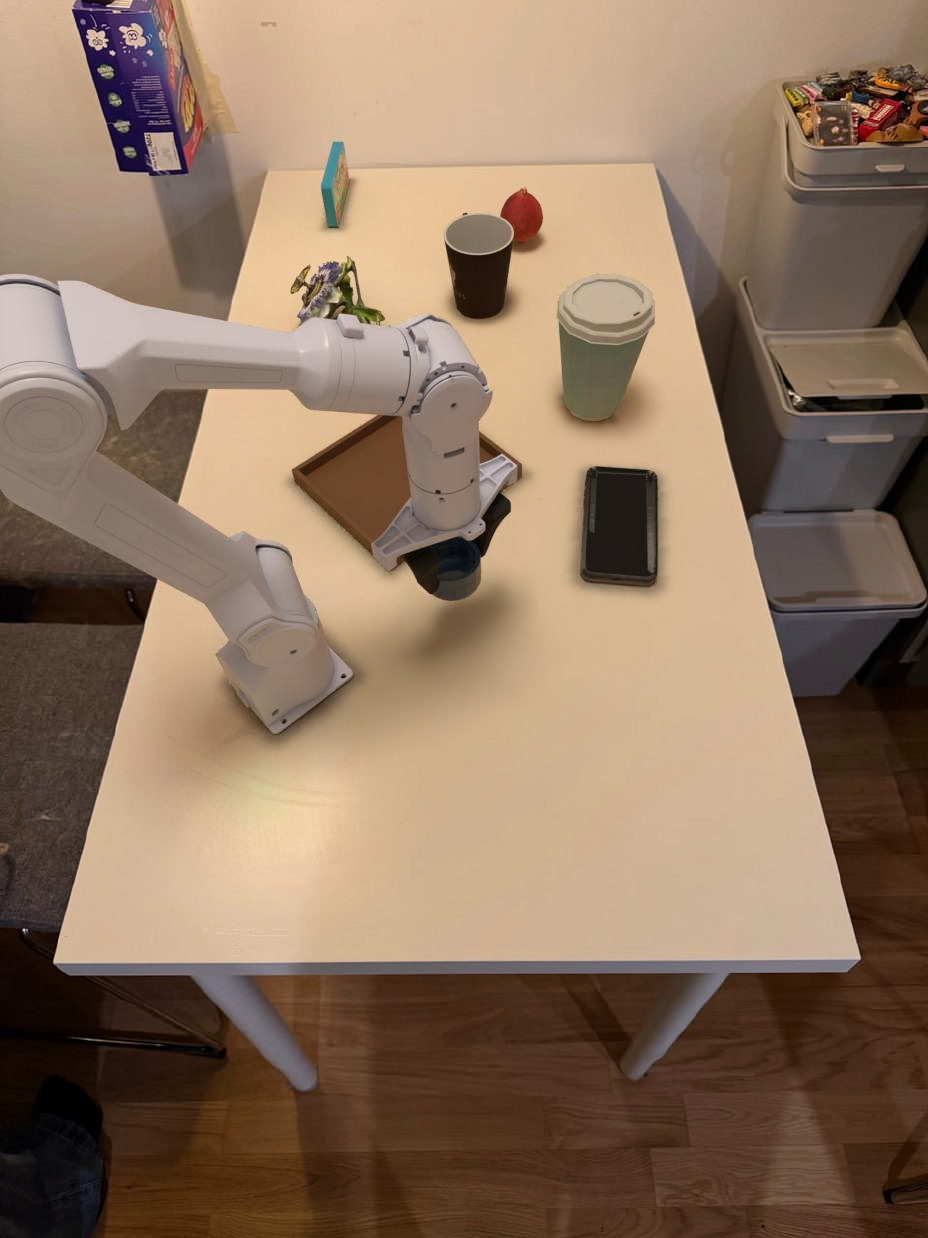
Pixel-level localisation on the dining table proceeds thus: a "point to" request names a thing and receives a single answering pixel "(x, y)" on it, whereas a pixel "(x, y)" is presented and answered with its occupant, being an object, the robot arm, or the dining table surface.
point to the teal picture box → (335, 184)
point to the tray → (369, 477)
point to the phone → (620, 526)
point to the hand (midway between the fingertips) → (451, 568)
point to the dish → (457, 568)
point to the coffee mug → (479, 262)
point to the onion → (523, 215)
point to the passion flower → (333, 294)
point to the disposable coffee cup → (601, 341)
